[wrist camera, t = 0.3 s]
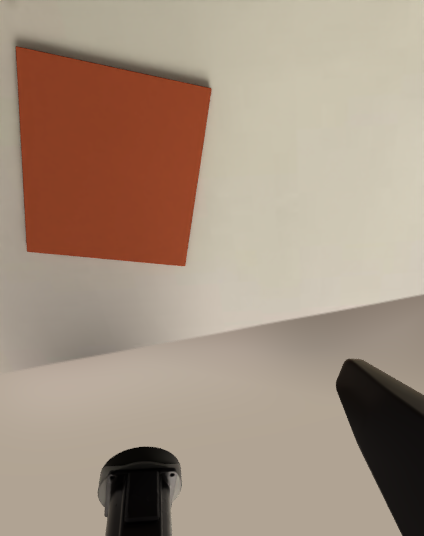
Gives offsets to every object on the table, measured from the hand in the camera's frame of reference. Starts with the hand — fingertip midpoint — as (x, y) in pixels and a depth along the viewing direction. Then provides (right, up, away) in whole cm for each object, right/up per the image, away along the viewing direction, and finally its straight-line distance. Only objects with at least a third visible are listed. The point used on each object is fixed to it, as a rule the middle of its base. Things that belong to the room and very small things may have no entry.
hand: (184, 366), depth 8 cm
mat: (-5, +8, +11) cm, 15 cm away
